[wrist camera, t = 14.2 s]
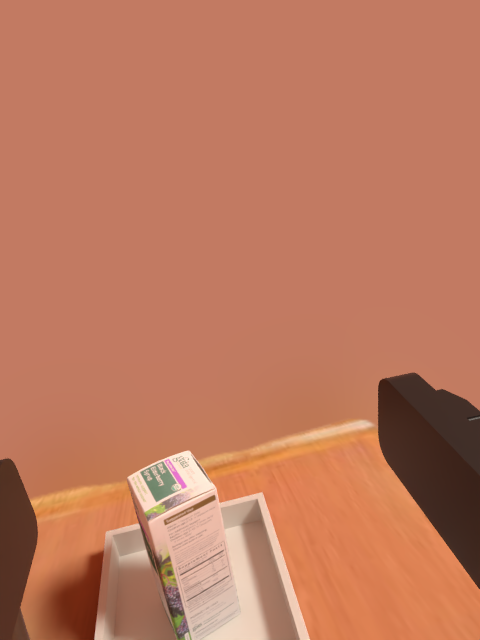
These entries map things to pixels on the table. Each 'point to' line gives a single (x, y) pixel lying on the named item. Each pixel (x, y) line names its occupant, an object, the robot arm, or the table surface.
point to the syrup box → (186, 544)
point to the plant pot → (20, 629)
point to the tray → (249, 574)
